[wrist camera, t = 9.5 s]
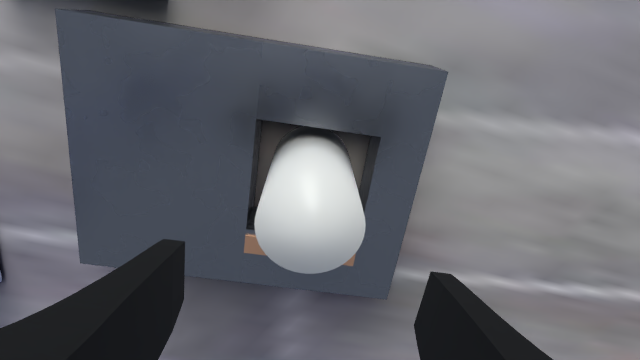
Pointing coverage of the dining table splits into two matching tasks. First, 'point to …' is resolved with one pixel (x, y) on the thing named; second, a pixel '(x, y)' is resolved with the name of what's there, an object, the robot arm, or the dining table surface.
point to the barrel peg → (310, 204)
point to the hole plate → (228, 142)
